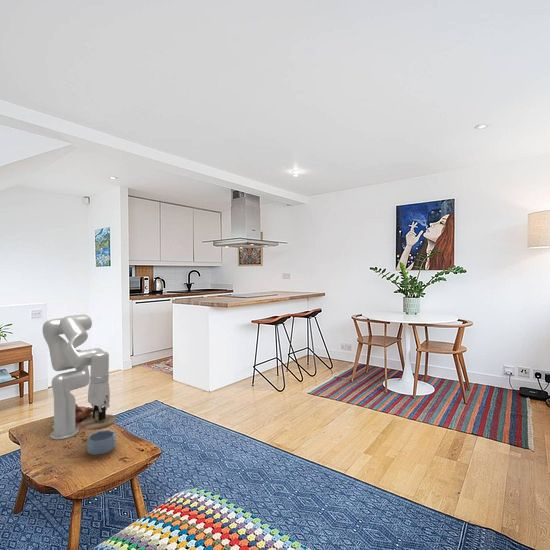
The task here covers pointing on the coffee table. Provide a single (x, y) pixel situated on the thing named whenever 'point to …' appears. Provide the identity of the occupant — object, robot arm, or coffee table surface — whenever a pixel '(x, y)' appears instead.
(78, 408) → the anatomical model
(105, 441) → the bowl
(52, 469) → the coffee table surface
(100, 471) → the coffee table surface
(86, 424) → the lid
